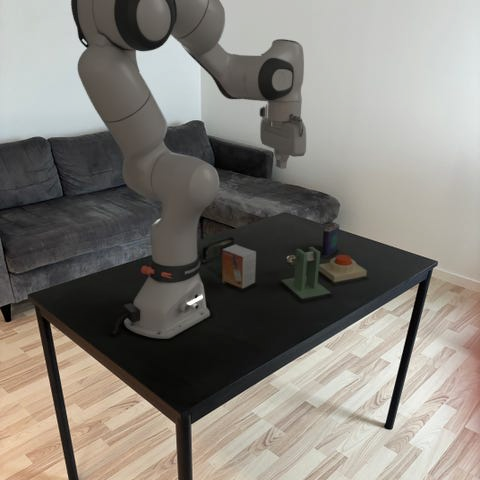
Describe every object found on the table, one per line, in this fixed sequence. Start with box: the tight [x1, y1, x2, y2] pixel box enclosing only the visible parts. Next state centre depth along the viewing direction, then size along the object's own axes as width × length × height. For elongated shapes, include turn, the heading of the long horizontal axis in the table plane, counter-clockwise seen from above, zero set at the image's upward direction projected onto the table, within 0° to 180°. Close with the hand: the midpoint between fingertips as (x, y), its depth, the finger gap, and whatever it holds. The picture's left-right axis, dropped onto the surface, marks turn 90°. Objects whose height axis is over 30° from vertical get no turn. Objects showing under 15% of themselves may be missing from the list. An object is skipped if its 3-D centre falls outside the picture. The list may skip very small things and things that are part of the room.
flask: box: [321, 221, 340, 256], centre depth 155 cm, size 9×3×11 cm, turn 147°
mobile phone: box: [202, 236, 235, 264], centre depth 154 cm, size 5×3×15 cm
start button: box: [335, 254, 352, 266], centre depth 140 cm, size 4×4×2 cm
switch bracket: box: [280, 246, 331, 300], centre depth 131 cm, size 12×9×12 cm
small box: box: [221, 243, 257, 289], centre depth 134 cm, size 8×6×10 cm
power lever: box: [285, 251, 314, 267], centre depth 134 cm, size 13×3×3 cm, turn 22°
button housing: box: [319, 257, 368, 283], centre depth 141 cm, size 11×9×4 cm
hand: (280, 167), depth 130 cm, fingers closed
